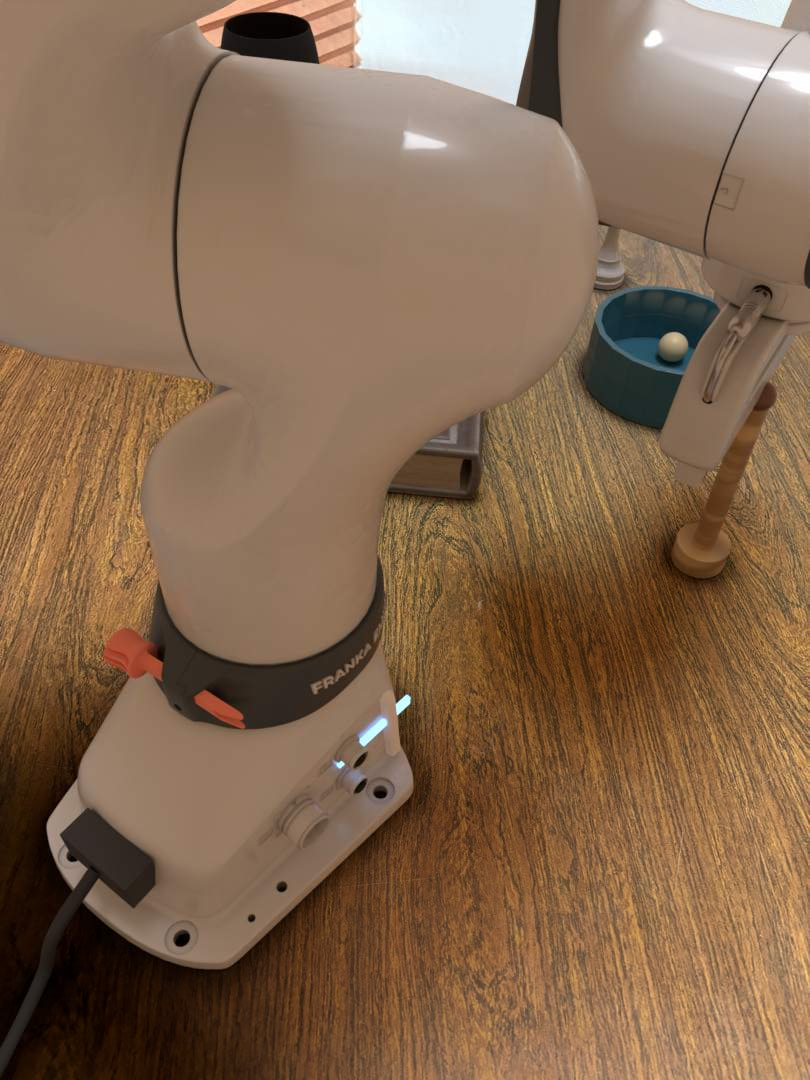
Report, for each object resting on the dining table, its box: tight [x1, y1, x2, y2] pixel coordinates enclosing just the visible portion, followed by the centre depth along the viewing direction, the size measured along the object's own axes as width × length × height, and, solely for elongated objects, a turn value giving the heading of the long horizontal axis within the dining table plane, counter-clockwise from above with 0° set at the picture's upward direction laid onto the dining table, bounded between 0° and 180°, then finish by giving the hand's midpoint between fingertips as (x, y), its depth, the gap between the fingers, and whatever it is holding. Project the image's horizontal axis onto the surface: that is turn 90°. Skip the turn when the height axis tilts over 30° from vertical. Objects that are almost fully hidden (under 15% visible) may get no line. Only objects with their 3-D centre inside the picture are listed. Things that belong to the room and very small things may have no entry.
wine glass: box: [220, 11, 320, 64], centre depth 94 cm, size 10×10×20 cm
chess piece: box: [594, 226, 626, 291], centre depth 91 cm, size 4×4×10 cm
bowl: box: [582, 285, 721, 429], centre depth 80 cm, size 14×14×6 cm
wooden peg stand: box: [670, 381, 778, 579], centre depth 60 cm, size 4×4×17 cm
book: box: [210, 384, 485, 500], centre depth 79 cm, size 30×22×5 cm
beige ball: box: [658, 332, 688, 362], centre depth 83 cm, size 3×3×3 cm
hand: (712, 440), depth 59 cm, fingers open, 8 cm apart
